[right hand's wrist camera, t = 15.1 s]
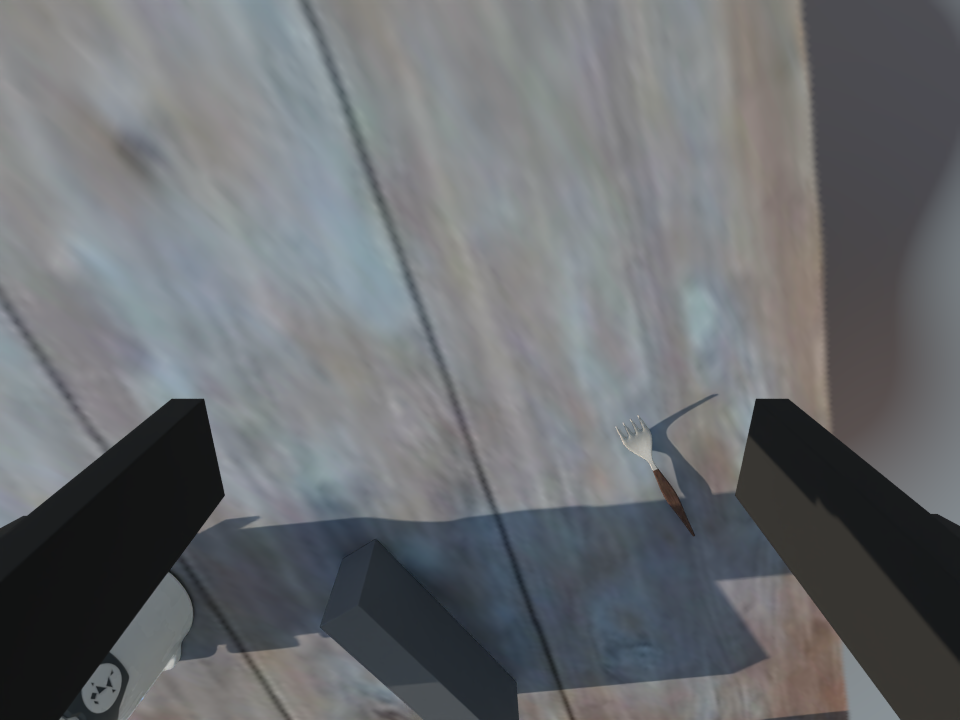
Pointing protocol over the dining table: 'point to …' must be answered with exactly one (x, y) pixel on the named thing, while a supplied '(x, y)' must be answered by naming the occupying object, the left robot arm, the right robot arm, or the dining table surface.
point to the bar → (414, 642)
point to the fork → (653, 465)
